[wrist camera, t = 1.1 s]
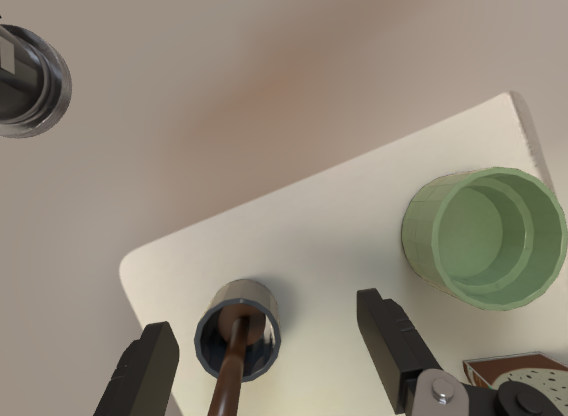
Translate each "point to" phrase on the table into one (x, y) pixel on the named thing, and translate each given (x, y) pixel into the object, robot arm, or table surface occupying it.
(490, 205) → the bowl
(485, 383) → the food container
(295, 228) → the table surface
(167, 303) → the table surface
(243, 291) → the crock
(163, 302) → the table surface
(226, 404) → the brown peg stand
